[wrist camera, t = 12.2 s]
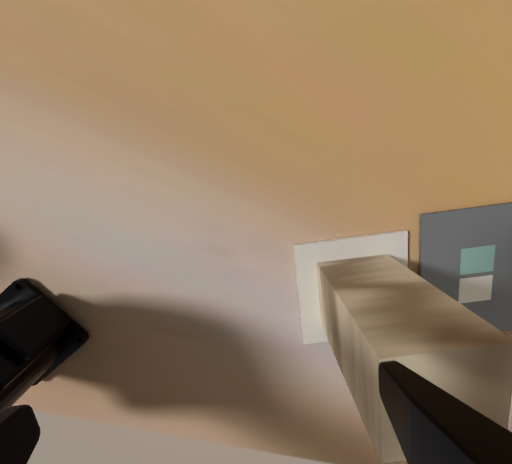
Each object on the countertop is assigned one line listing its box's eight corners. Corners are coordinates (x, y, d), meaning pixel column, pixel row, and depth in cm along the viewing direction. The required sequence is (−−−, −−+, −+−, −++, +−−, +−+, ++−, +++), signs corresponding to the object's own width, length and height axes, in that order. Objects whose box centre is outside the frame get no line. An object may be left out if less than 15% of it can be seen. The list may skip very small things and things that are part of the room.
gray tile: (417, 338, 22) (420, 341, 22) (419, 214, 19) (422, 215, 19) (559, 321, 22) (563, 323, 21) (579, 193, 19) (584, 194, 19)
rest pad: (302, 341, 22) (303, 344, 21) (292, 244, 20) (293, 245, 19) (405, 329, 22) (407, 331, 21) (405, 229, 20) (407, 230, 19)
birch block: (321, 324, 21) (381, 463, 11) (316, 262, 20) (379, 359, 10) (387, 316, 21) (504, 449, 11) (386, 253, 20) (517, 342, 10)
